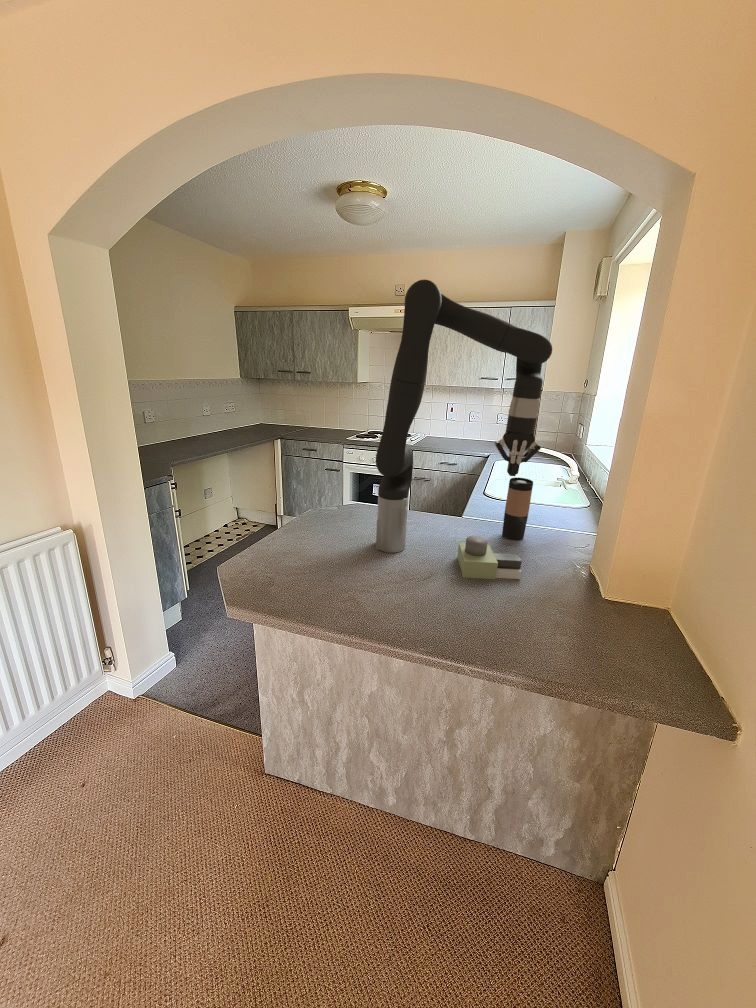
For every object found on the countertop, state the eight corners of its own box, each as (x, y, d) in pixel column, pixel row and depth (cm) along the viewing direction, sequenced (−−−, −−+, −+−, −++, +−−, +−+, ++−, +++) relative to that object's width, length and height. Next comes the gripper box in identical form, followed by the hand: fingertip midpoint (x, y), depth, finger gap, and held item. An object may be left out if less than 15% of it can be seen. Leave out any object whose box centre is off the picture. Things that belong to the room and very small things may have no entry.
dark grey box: (493, 575, 115) (496, 559, 113) (490, 568, 119) (493, 553, 117) (518, 576, 115) (521, 560, 113) (515, 569, 118) (517, 554, 117)
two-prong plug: (462, 577, 113) (466, 549, 110) (457, 557, 124) (460, 531, 121) (521, 580, 112) (526, 552, 110) (510, 560, 124) (514, 534, 121)
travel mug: (521, 532, 145) (530, 478, 138) (526, 541, 137) (536, 484, 131) (499, 530, 145) (507, 476, 138) (503, 539, 138) (512, 483, 131)
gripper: (501, 414, 108) (491, 477, 114) (552, 418, 108) (539, 481, 114) (495, 411, 115) (486, 470, 121) (543, 414, 115) (531, 473, 121)
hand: (512, 475), depth 117 cm, fingers closed
